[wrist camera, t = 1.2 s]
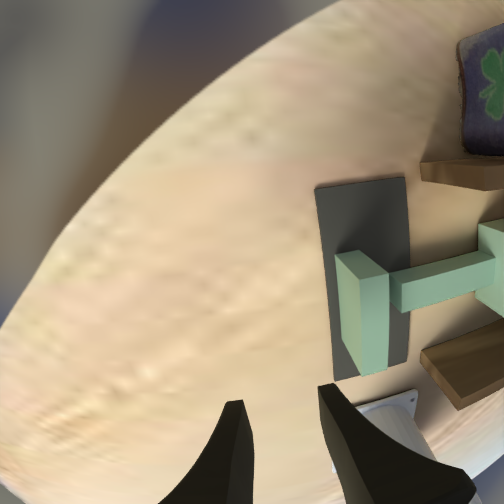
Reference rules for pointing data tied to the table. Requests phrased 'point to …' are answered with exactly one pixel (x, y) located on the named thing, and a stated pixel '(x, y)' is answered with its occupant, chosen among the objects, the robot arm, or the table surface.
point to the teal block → (412, 292)
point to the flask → (482, 92)
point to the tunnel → (481, 340)
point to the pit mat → (365, 252)
